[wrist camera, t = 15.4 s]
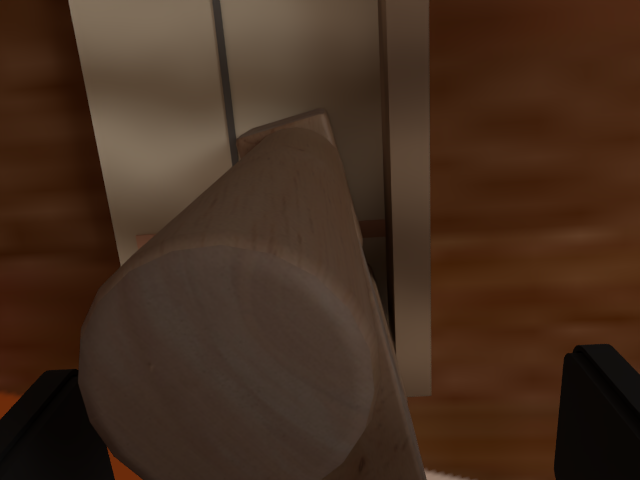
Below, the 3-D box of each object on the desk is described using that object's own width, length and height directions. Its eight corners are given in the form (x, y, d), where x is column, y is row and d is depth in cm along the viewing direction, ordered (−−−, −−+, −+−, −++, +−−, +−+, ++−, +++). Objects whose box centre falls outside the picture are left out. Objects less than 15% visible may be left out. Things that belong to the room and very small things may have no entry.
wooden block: (316, 344, 26) (296, 880, 8) (245, 129, 23) (-8, 278, 6) (389, 325, 25) (524, 842, 8) (327, 105, 22) (329, 178, 5)
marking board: (33, -295, 20) (-59, -410, 15) (401, -331, 20) (426, -460, 15) (154, 355, 28) (120, 412, 24) (413, 340, 28) (431, 395, 23)
